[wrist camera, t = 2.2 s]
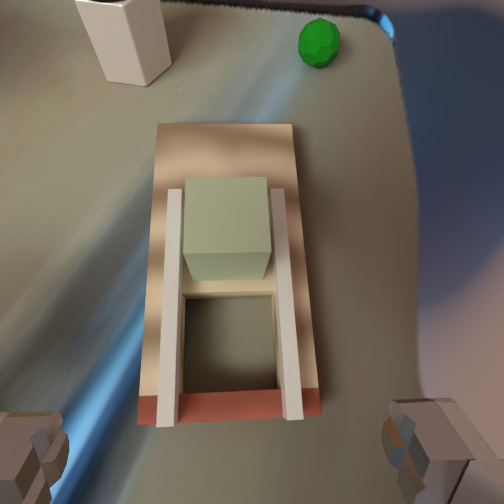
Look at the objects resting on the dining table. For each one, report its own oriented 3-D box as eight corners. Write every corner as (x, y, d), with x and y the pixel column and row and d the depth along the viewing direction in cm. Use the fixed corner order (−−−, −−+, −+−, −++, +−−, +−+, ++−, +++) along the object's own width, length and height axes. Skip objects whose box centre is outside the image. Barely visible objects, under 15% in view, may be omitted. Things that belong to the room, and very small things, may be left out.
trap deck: (314, 412, 29) (321, 415, 26) (145, 421, 28) (137, 425, 25) (287, 139, 38) (291, 124, 36) (162, 139, 37) (157, 123, 35)
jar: (178, 41, 43) (159, -79, 32) (165, 91, 40) (139, -22, 29) (106, 32, 43) (62, -92, 31) (89, 81, 40) (33, -37, 29)
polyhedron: (315, 82, 42) (325, 46, 37) (286, 59, 43) (293, 21, 38) (341, 62, 43) (354, 26, 39) (313, 41, 44) (322, 3, 40)
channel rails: (298, 416, 26) (303, 419, 24) (161, 423, 26) (156, 427, 24) (280, 199, 33) (283, 188, 31) (171, 200, 32) (168, 189, 30)
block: (262, 279, 30) (271, 252, 23) (193, 281, 30) (183, 253, 23) (259, 218, 32) (266, 176, 25) (194, 218, 32) (185, 177, 25)
